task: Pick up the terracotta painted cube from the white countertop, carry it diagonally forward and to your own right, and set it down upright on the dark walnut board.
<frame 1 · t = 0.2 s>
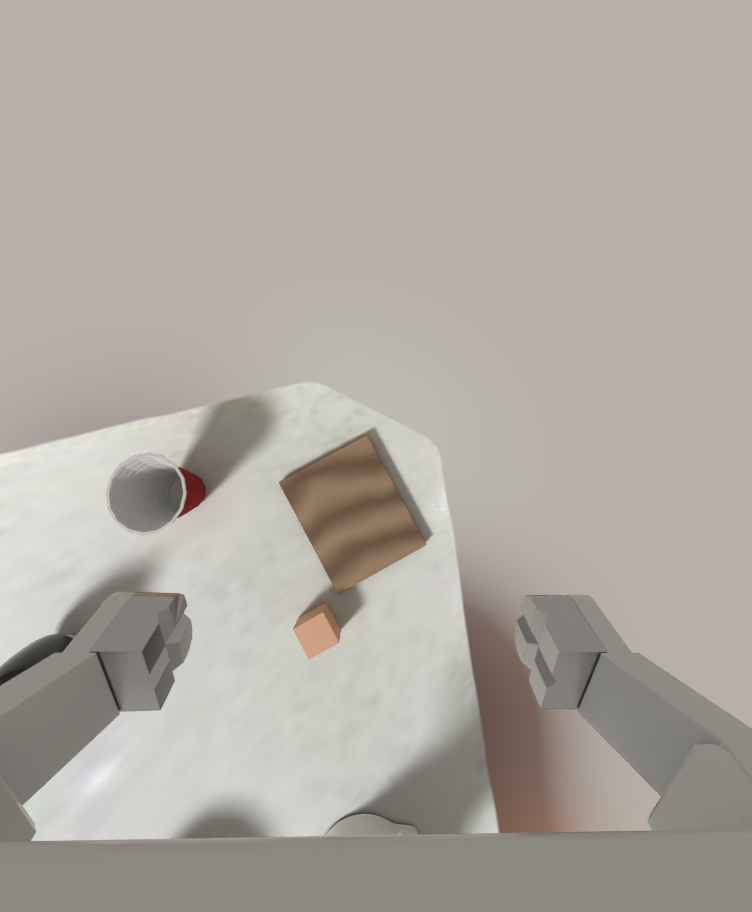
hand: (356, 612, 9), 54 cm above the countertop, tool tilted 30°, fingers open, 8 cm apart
walnut board: (352, 512, 63), on the countertop
cube: (320, 623, 62), on the countertop
black glossy tall piece: (75, 657, 60), on the countertop
plastic cup: (187, 490, 62), on the countertop
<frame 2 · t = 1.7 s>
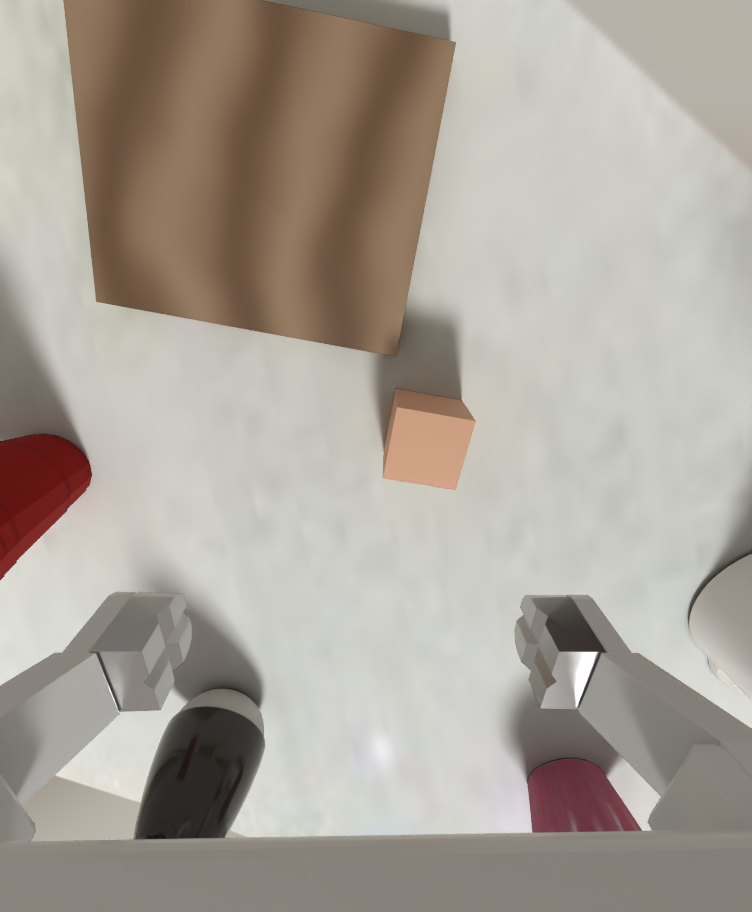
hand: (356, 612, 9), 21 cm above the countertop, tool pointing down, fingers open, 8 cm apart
walnut board: (261, 194, 24), on the countertop
plant pot: (565, 777, 47), on the countertop
cube: (421, 425, 30), on the countertop
black glossy tall piece: (230, 702, 43), on the countertop
plastic cup: (57, 465, 32), on the countertop
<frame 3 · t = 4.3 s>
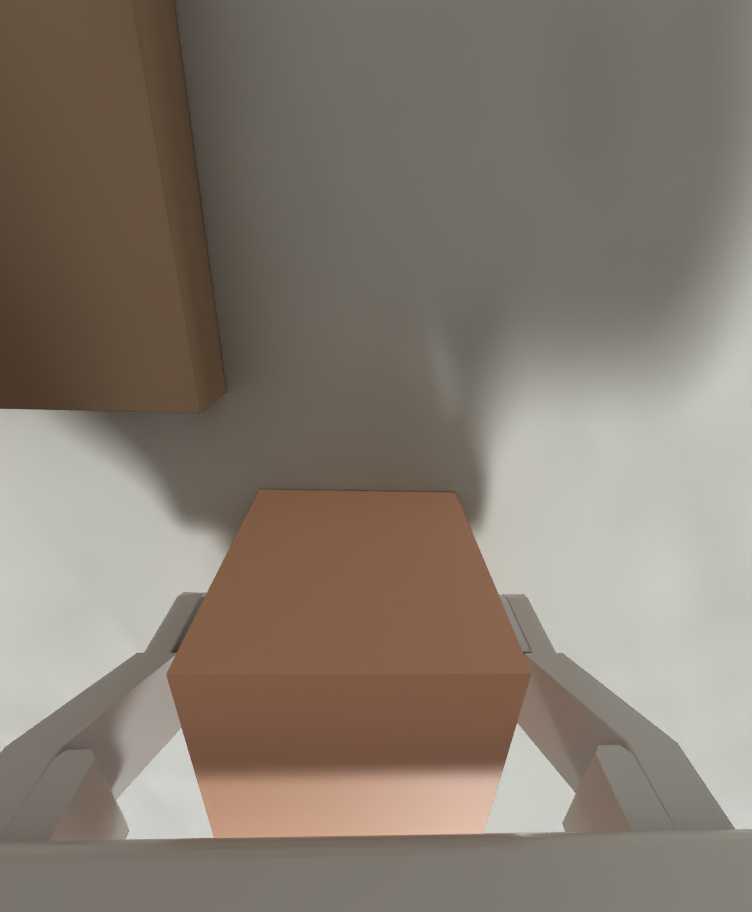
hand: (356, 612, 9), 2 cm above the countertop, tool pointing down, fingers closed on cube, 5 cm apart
cube: (357, 567, 11), on the countertop, touching gripper
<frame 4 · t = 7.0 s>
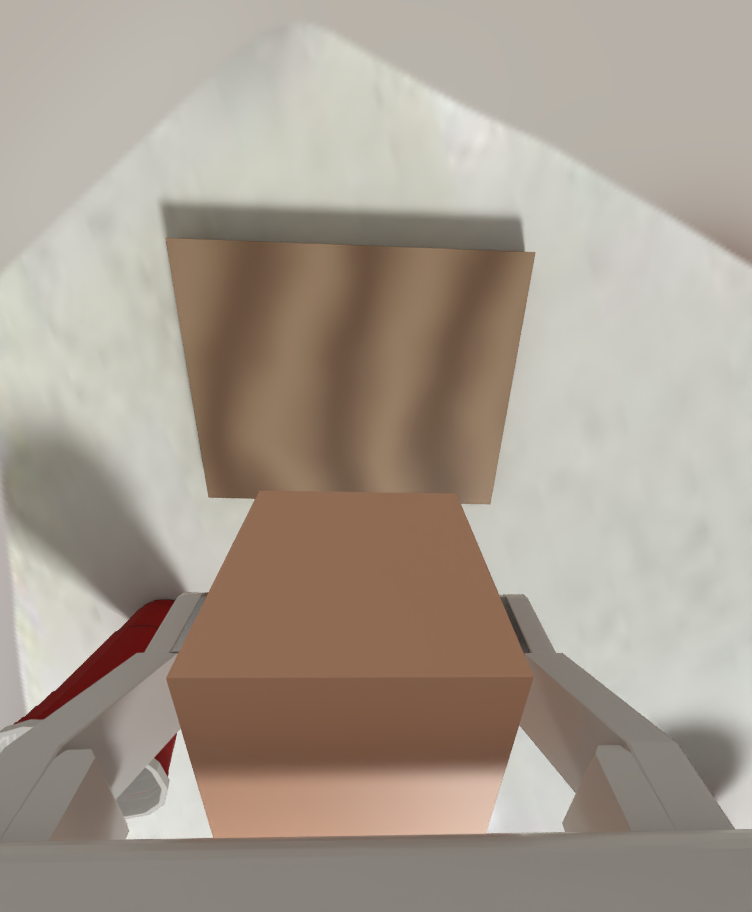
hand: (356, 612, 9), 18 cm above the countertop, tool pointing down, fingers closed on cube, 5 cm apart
walnut board: (352, 384, 25), on the countertop
cube: (357, 569, 11), point 17 cm above the countertop, touching gripper
plastic cup: (170, 622, 34), on the countertop
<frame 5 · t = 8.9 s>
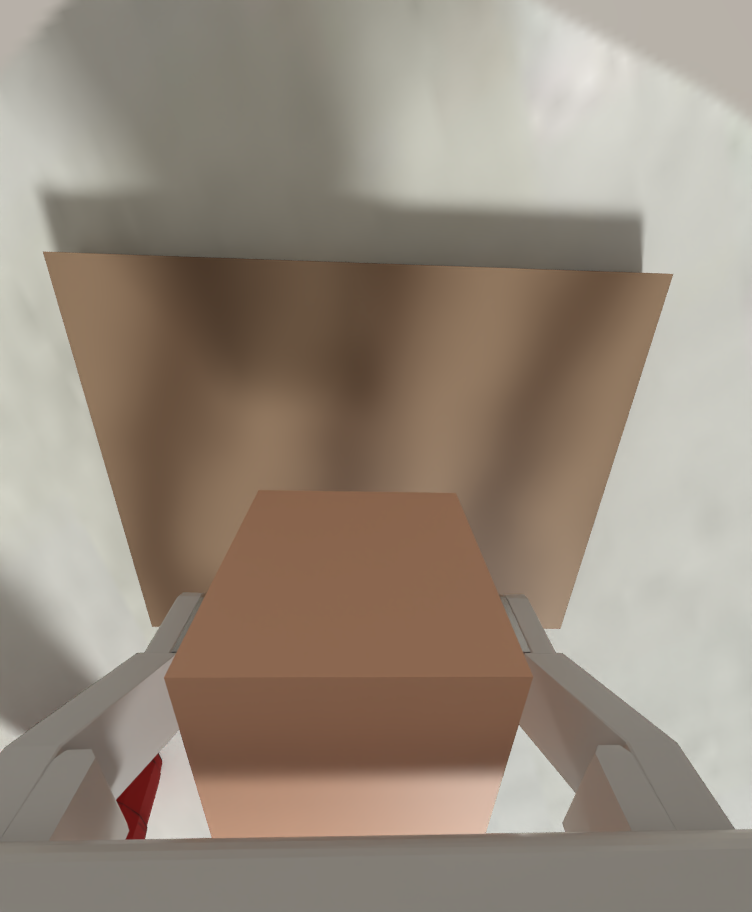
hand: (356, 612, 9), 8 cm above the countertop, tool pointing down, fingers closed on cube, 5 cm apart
walnut board: (362, 467, 17), on the countertop
cube: (357, 568, 11), point 7 cm above the countertop, touching gripper
plastic cup: (118, 756, 26), on the countertop
when the fingers open (5 cm above the countertop, at t = 10.1 s): cube drops 1 cm, resting on walnut board.
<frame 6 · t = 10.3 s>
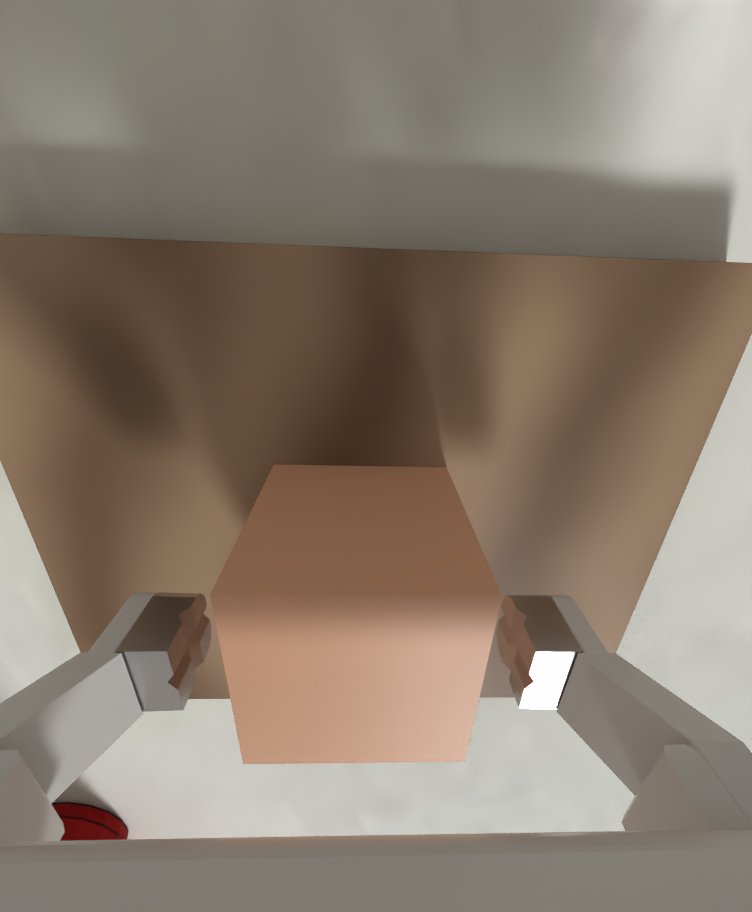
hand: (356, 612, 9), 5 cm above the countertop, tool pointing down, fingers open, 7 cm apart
walnut board: (357, 509, 13), on the countertop
cube: (359, 536, 12), point 1 cm above the countertop, touching walnut board
plastic cup: (77, 825, 22), on the countertop
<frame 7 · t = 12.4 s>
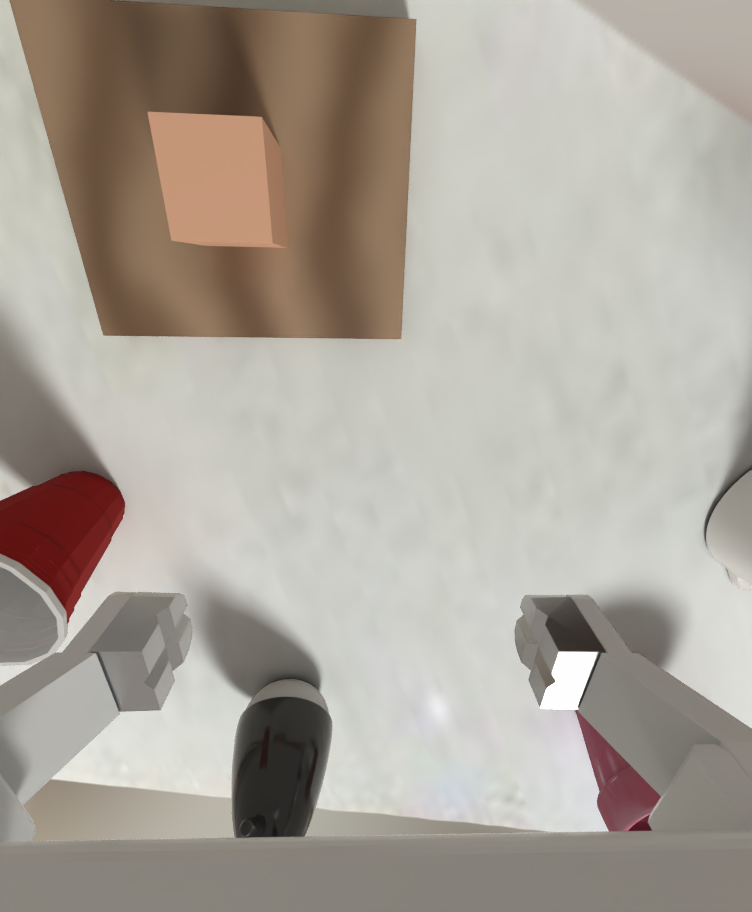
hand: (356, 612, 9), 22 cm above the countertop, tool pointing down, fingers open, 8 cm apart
walnut board: (246, 201, 24), on the countertop
plant pot: (609, 701, 50), on the countertop
cube: (241, 198, 23), point 1 cm above the countertop, touching walnut board
black glossy tall piece: (290, 690, 46), on the countertop
plastic cup: (89, 500, 33), on the countertop
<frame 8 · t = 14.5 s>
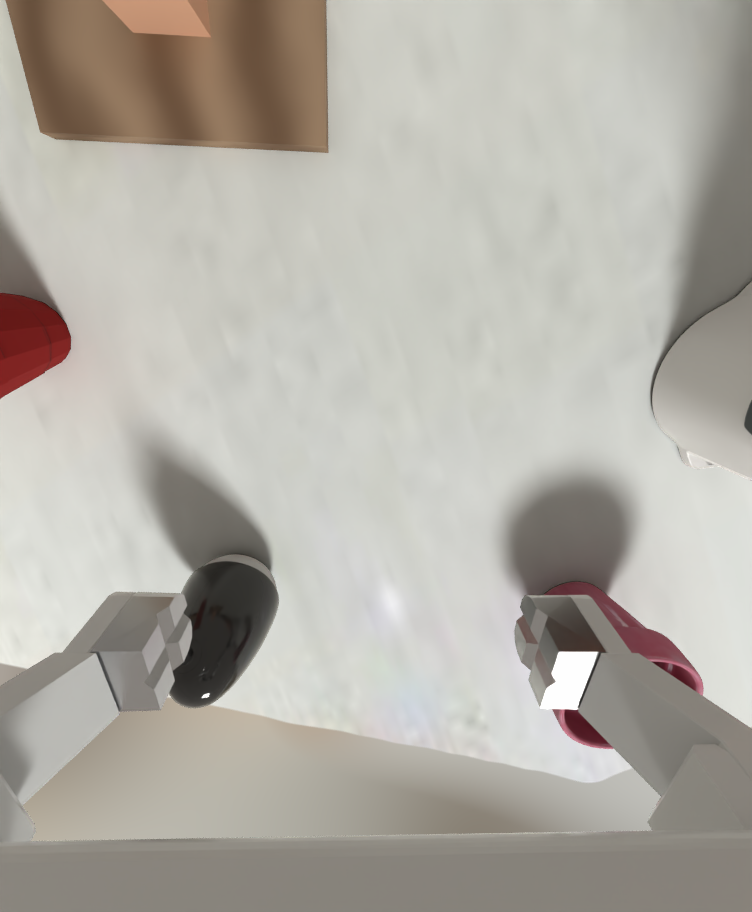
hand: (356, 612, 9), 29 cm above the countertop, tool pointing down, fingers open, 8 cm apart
plant pot: (568, 606, 49), on the countertop
black glossy tall piece: (242, 572, 46), on the countertop
plastic cup: (37, 333, 34), on the countertop
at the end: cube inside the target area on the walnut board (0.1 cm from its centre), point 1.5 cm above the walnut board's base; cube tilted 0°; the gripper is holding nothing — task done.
